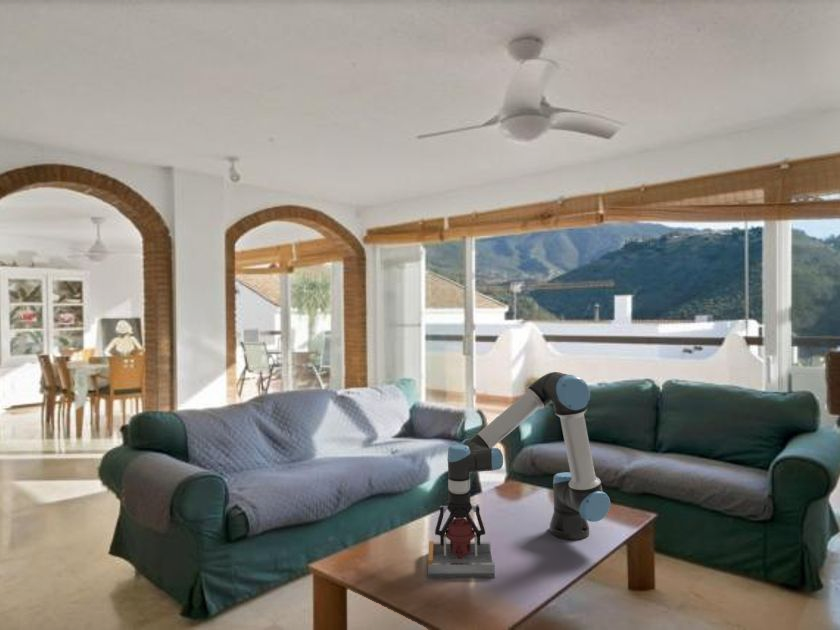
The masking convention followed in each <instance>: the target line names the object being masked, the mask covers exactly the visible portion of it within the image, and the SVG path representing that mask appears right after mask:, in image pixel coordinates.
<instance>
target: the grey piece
mask: <svg viewBox="0 0 840 630" xmlns="http://www.w3.org/2000/svg"><path fill="white" fill-rule="evenodd" d="M428 542H429V543H428V555H427V556H428V557H427V564H428V566H427V570H428V571H427V572H428V573H427V576H428V577H427V579H495V578H496V574H495V573H496V569H495V568H496V567H495V566H496V564H495V562H493V557H492V553H491V552H492V551H491V541H480V545H477V556H475V542H474V541H470V545H471V551H470V552H469V554H468V555H465V556H463V557H462V559H458V558H457V555H455V554H454V553H452V552H451V551H450V541H446V556H444V546H441V544H440V541H433V540H430V541H428Z"/></svg>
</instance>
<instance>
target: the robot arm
mask: <svg viewBox="0 0 840 630" xmlns="http://www.w3.org/2000/svg"><path fill="white" fill-rule="evenodd" d="M590 398H591V391H590V387H589V386H588V384H587V382H586V381H585V380H584V379H582V378H581V377H578V376H576V375H574V374H566V373H562V372H560V371H559V372H558V371H553V372H552V371H551V372H548V373H546V374H544V375H542V376H541V377H539V378H538V379H536V380H535V381H534V382H533V383H532V384H530V385H529V386H528V387H527V388H525V392H524V394H523V395H521V397H519V398H518V399H517V400H516V401H514V402H513V403H512V404H511V405H510V406H509V407H508V408H506V409H505V410H504V411H503V412H502V413H500V414H499V415H498V416H497V417H495V418H494V420H492V421H491V422H490V423H488V425H486V426H485V427H483V428H482V429H481V430H480V431H479V432H478V433H476V435H474V436H473V437H472V438H464V439H463V440H462V441H461V442H460V444H459V443H458V444H457V443H456V444H453V445H452V444H451V445H450V446H449V447H448V449H447V470H448V471H447V475H448V477H447V480H448V481H447V483H448V484H447V485H448V504H447V505H443V504H439V514H438V519H437V522H436V527H435V529H434V534H435V536H439V538H440V539H439V540H440V541H439V542H440V544H441V546H444V556H446V542H447V537H446V531H447V529H448V524H451V522H452V521H453V519H456V518H464V519H467V520H468V522H469V523H470V524H472V529H473V530H474V532H475V537H474V538H473V539H474V540H473V542H475V556H477V545H480V542H481V537H482V536H484V535H486V529H485V526H484V523H483V520H482V516H481V514H480V511H481V510H480V505H479V504H476V505H473V504H472V503H471V491H470V490H471V473H481V472H482V473H483V472H491V471H492V472H493V471H498V470H501V469H502V468H503V465H504V456H503V453H502V450H501V449H500V448H498V447H496V448H495V446H497V444H499V443H500V442H501V441H502V440H503V439H504V438H506V437H507V436H508V435H510V434H511V432H513V431H514V430H515V429H516V428H517V427H519V426H520V425H521V424H522V423H523V422H525V421H526V420H527V419H528V418H529V417H530V416H531V415H533V414H534V413H535V412H537V411H538V410H539V409H540V410H542V409H544V408H545V407H547V406H548V405H550V404H552V405H553V409H554V410H553V411H554V414H555V416H557V417H559V419H560V425H561V431H562V435H563V441H564V446H565V451H566V456H567V461H568V466H569V472H568V471H567V472H565V471H564V472H559V473H556V474H554V476H553V482H552V485H553V487H552V488H553V513H552V516H551V519H550V522H549V532H550V534H551V535H552V536H555V537H556V538H560V539H564V540H572V541H573V540H582V539H583V540H584V539H586V538H587V537H589V536H590V527H589V522H590V523H597V522H600V521H601V520H603V519H604V518H605V517H606V516H607V514H608V513H609V511H610V509H611V500H610V497H609V496H608V494H607V493H606V492H604V491H603V486H602V481H601V479H600V478H599V477H597V476H596V473H595V468H594V462H593V457H592V450H591V445H590V441H589V440H590V439H589V435H588V429H587V423H586V418H585V414H586V412H587V410H588V404H589V401H590ZM472 510H473V513H475V516H476V519H477V522H478V525H479V528H480V530H479V529H478V526H477V525H476V523H475V521H474V520H473V518H472V516H471V515H470V513H471V511H472ZM447 511H448V512H449V513H450V514H449V516H448V517H447V519H446V521H445V523H444V524H443V527H442V528H441V526H442V523H443V520H444V514H445V513H446V512H447ZM440 529H441V530H440Z"/></svg>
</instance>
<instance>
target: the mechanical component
mask: <svg viewBox="0 0 840 630" xmlns="http://www.w3.org/2000/svg"><path fill="white" fill-rule="evenodd" d="M445 534H446V539H447V540H449V542H450V551H451V552H452V553H454V554H455V555H457V558H458V559H462V557H463V556H465V555H468V554H469V552H470V551H471V545H470V542H471V540H473V539H474V537H475V534H476V533H475V532H474V530H473V528H472V524H470V523H469V522H468V520H467V519H466V518H454V519H453V521H452V522H451V524H448V529H447V531H446V533H445Z"/></svg>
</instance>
